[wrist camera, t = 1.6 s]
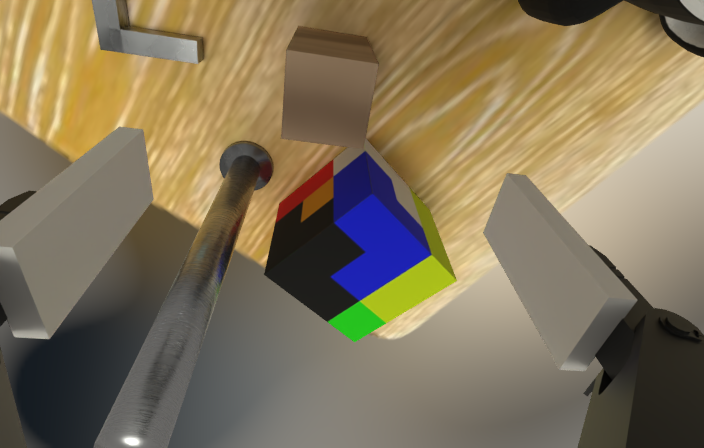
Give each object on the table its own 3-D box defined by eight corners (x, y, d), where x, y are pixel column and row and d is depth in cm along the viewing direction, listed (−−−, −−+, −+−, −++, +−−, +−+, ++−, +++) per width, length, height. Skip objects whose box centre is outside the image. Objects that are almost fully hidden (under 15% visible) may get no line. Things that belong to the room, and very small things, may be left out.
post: (220, 138, 33) (48, 414, 13) (274, 144, 33) (188, 421, 13) (221, 184, 35) (77, 479, 15) (271, 190, 36) (196, 482, 16)
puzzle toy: (362, 134, 33) (372, 193, 25) (429, 209, 38) (456, 280, 29) (279, 203, 37) (264, 274, 28) (350, 264, 41) (354, 342, 33)
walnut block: (298, 26, 28) (286, 49, 21) (366, 37, 29) (378, 64, 22) (293, 95, 31) (281, 138, 24) (355, 104, 32) (363, 149, 24)
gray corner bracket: (94, -51, 25) (82, -51, 24) (199, -32, 26) (192, -32, 25) (110, 45, 29) (100, 49, 27) (203, 59, 29) (197, 63, 28)
